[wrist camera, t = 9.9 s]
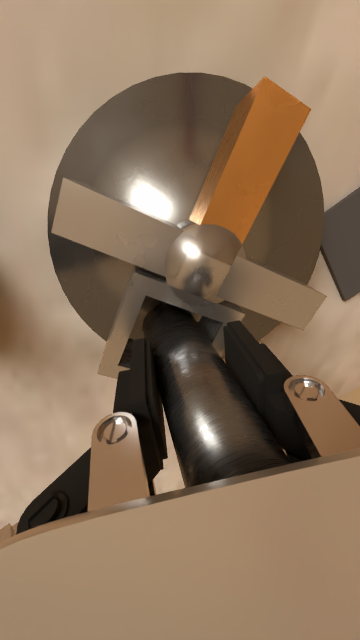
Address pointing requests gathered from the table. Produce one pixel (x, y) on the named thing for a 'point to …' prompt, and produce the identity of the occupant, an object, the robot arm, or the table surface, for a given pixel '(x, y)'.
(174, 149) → the chuck base
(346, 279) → the mat
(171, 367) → the grey pestle
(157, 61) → the table surface
